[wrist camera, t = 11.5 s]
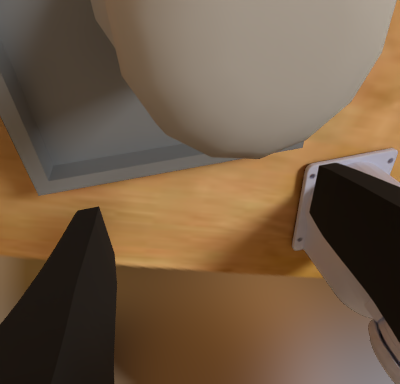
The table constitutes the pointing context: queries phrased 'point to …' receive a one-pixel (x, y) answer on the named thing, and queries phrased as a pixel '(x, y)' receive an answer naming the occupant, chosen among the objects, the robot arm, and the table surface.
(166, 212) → the table surface
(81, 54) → the tray
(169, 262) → the table surface
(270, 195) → the table surface
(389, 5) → the salt shaker
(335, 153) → the table surface
